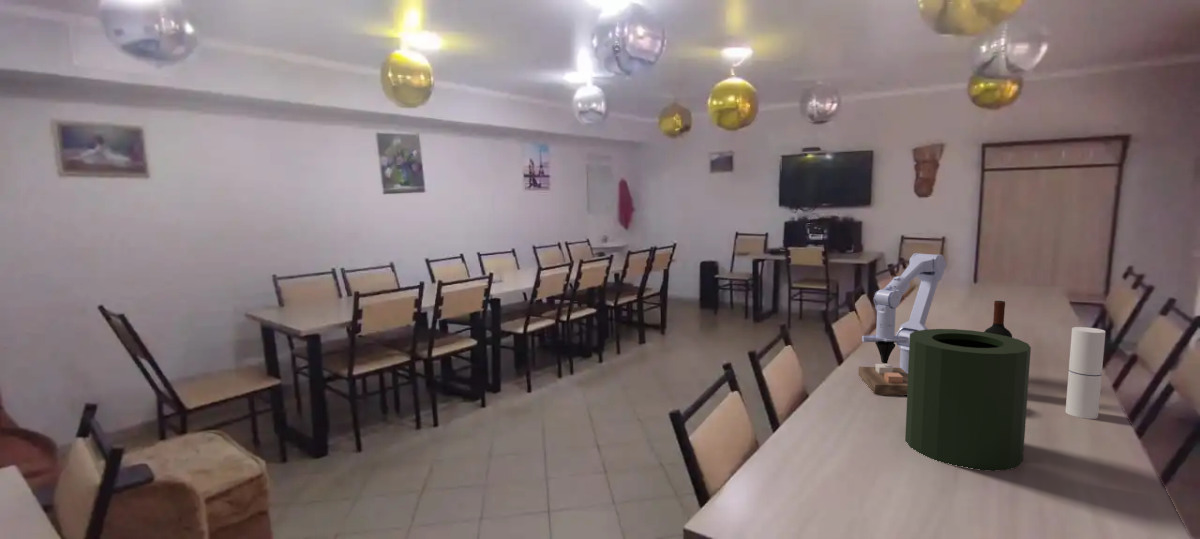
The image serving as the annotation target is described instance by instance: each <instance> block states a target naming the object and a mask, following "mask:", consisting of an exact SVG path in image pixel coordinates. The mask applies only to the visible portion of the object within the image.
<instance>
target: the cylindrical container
mask: <svg viewBox="0 0 1200 539" xmlns="http://www.w3.org/2000/svg"><path fill="white" fill-rule="evenodd" d="M1070 338H1071V339H1070V349H1069V363H1068V375H1067V376H1068V377H1067V388H1066V403H1065V413H1066V414H1068V415H1070V416H1072V417H1075V418H1079V417H1080V419H1085V418H1086V419H1087V420H1096V419H1098V418H1099V409H1100V400H1101V390H1102V389H1101V385H1102V374H1103V365H1104V364H1103V362H1104V354H1105V344H1106V343H1105V341H1106V330H1104V329H1101V328H1096V327H1085V326H1075V327H1074V326H1073V327H1071V337H1070Z"/></svg>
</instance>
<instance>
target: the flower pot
mask: <svg viewBox="0 0 1200 539" xmlns="http://www.w3.org/2000/svg"><path fill="white" fill-rule="evenodd" d="M1031 350H1032V347H1031V346H1030V344H1029V343H1027V342H1025V341H1024V340H1021V339H1018V338H1015V337H1012V338H1011V337H1008V336H1003V335H998V334H993V333H987V332H984V331H980V330H979V331H978V330H971V329H970V330H967V329H958V328H957V329H956V328H932V329H931V328H930V329H928V328H927V330H920V331H915V332H914V331H913V333H911V334H910V343H909V366H908V389H907V396H906V412H905V414H906V415H905V434H904V435H905V440H904V441H905V442H907V443H908V444H907V443H906V444H907V445H908V446H909V448H910V449H912V448H913V449H912V450H914V451H915V450H916V451H915V452H917V453H918V452H919V453H918V454H920V453H921V454H923V455H922V456H924V455H925V456H924V457H926V456H927V457H926V458H928V457H929V458H928V459H931V460H933V459H934V460H933V461H935V460H937V461H936V462H939V461H941V462H940V463H942V462H944V463H943V464H945V463H949V464H952V465H957V466H963V467H968V468H973V469H980V470H979V471H985V470H991V471H990V472H996V471H995V470H1000V471H1008V470H1007V469H1010V470H1012V469H1011V468H1013V469H1015V468H1017V466H1018V467H1020V466H1019V465H1021V464H1022V463H1023V461H1024V451H1025V436H1026V435H1025V433H1026V421H1027V409H1028V408H1027V405H1028V394H1029V377H1030V365H1031V362H1030V361H1031ZM921 454H920V455H921ZM949 464H948V465H949ZM952 465H951V466H952ZM973 469H972V470H973Z"/></svg>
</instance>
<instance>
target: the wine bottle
mask: <svg viewBox="0 0 1200 539" xmlns="http://www.w3.org/2000/svg"><path fill="white" fill-rule="evenodd" d="M993 306H994V307H993V319H992V320H993V322H992V325H991V326H990V327H987V328H985V330H984V331H983V332H987V333H993V334H998V335H1003V336H1008V337H1011V338H1013V334H1012V333H1011V331H1010V330H1009V329H1007V327H1005V324H1004V323H1005V308H1006V301H1005V300H994V303H993Z"/></svg>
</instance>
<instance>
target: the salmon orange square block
mask: <svg viewBox="0 0 1200 539" xmlns="http://www.w3.org/2000/svg"><path fill="white" fill-rule="evenodd" d="M884 379H885V380H886V381H887V382H888V383H903V376H902V375H900V374H899V373H887V372H884Z"/></svg>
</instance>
